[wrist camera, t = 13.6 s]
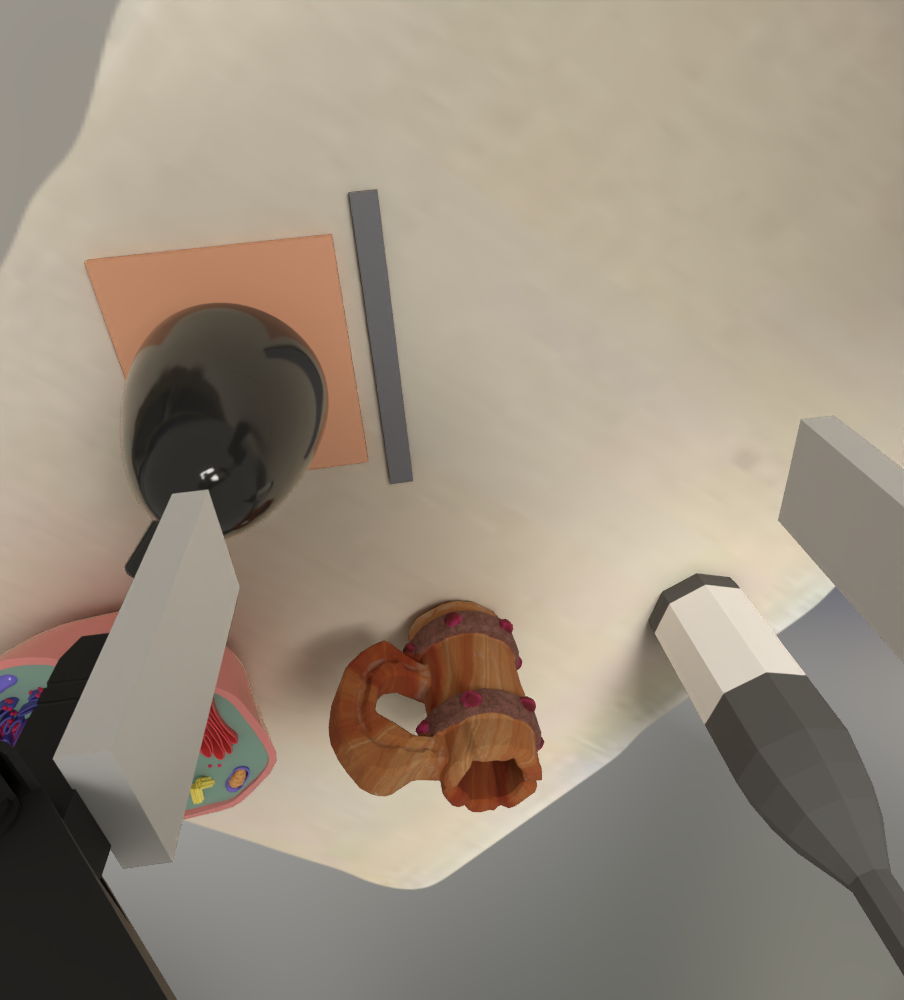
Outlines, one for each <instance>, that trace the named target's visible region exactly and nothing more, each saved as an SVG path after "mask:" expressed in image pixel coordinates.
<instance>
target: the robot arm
mask: <svg viewBox="0 0 904 1000" xmlns="http://www.w3.org/2000/svg"><path fill="white" fill-rule="evenodd" d="M778 521H779V522H780V523H781V524H782V525H783V526H784V528H785V529H786V530H787V531H788V532H789V533H790V534H791V536H792V537H793V538H794V539H795V540H796V541H797V542H798V544H799V545H800V546H801V547H802V548H803V549H804V550H805V552H806V553H807V554H808V555H809V556H810V557H811V558H812V560H813V561H814V562H815V563H816V564H817V565H818V566H819V568H820V569H821V570H822V571H823V572H824V573H825V574H826V576H827V577H828V578H829V579H830V580H831V581H832V582H833V584H834V585H835V586H836V587H837V588H838V589H839V590H840V591H841V593H842V594H843V595H844V596H845V597H846V598H847V600H848V601H849V602H850V603H851V604H852V605H853V606H854V608H855V609H856V610H857V611H858V612H859V613H860V614H861V616H862V617H863V618H864V619H865V620H866V621H867V622H868V623H869V624H870V626H871V627H872V628H873V629H874V630H875V631H876V633H878V635H879V636H880V637H881V638H882V640H883V641H884V642H885V643H886V644H887V645H888V646H889V648H890V649H891V650H892V651H893V652H894V653H895V654H896V655H897V657H898V658H899V659H900V660H901V661H902V662H903V664H904V469H902V468H901V467H900V466H898V465H897V464H896V463H895V462H893V461H892V460H891V459H889V458H888V457H887V456H886V455H884V454H883V453H882V452H880V451H879V450H878V449H877V448H875V447H874V446H873V445H871V444H870V443H869V442H868V441H866V440H865V439H864V438H862V437H861V436H860V435H859V434H857V433H856V432H855V431H853V430H852V429H851V428H850V427H848V426H847V425H846V424H844V423H843V422H842V421H841V420H839V419H838V418H837V417H835V416H825V417H817V418H809V419H801V421H800V425H799V430H798V434H797V439H796V443H795V448H794V452H793V457H792V461H791V465H790V470H789V474H788V479H787V483H786V488H785V492H784V497H783V501H782V506H781V510H780V514H779V519H778ZM239 589H240V586H239V583H238V580H237V576H236V573H235V570H234V567H233V564H232V561H231V558H230V555H229V552H228V549H227V546H226V543H225V540H224V537H223V534H222V530H221V527H220V524H219V521H218V518H217V515H216V512H215V509H214V506H213V503H212V500H211V497H210V494H209V491H208V490H200V491H192V492H183V493H175V494H172V496H171V498H170V500H169V502H168V504H167V507H166V509H165V511H164V513H163V516H162V518H161V520H160V522H159V524H158V527H157V529H156V531H155V533H154V535H153V538H152V540H151V542H150V544H149V547H148V549H147V551H146V553H145V555H144V558H143V560H142V562H141V564H140V566H139V569H138V571H137V573H136V575H135V578H134V580H133V582H132V584H131V586H130V589H129V591H128V593H127V595H126V597H125V600H124V602H123V604H122V606H121V609H120V611H119V613H118V615H117V617H116V620H115V622H114V624H113V626H112V628H111V631H110V633H103V634H95V635H87V636H81V637H80V638H79V639H78V640H77V641H76V642H75V643H74V644H73V645H72V646H71V647H70V648H69V649H68V650H67V651H66V652H65V653H64V654H63V655H62V657H61V658H60V659H59V660H58V662H57V664H56V666H55V668H54V670H53V672H52V674H51V676H50V678H49V680H48V681H47V688H44V689H43V691H42V693H41V695H40V697H39V699H38V701H37V707H36V708H34V709H33V711H32V713H31V714H30V716H29V718H28V720H27V722H26V724H25V726H24V728H23V730H22V732H21V734H20V736H19V738H18V740H17V742H16V744H15V746H14V747H12V746H11V745H10V744H9V743H7V742H6V741H0V1000H177V999H176V997H175V995H174V994H173V992H172V991H171V989H170V987H169V986H168V984H167V982H166V981H165V979H164V977H163V976H162V974H161V972H160V971H159V969H158V967H157V966H156V964H155V962H154V961H153V959H152V957H151V956H150V954H149V952H148V951H147V949H146V947H145V946H144V944H143V942H142V941H141V939H140V937H139V936H138V934H137V932H136V931H135V929H134V927H133V926H132V924H131V923H130V921H129V919H128V918H127V916H126V914H125V913H124V911H123V909H122V908H121V906H120V904H119V903H118V901H117V899H116V898H115V896H114V894H113V893H112V891H111V889H110V888H109V886H108V884H107V883H106V881H105V880H104V878H103V877H102V873H103V870H104V867H105V864H106V861H107V858H108V855H109V852H110V849H111V851H112V852H113V854H114V855H115V857H116V858H117V860H118V862H119V863H120V865H121V866H122V868H123V869H126V868H133V867H139V866H147V865H155V864H162V863H169V862H173V858H174V854H175V850H176V846H177V842H178V838H179V834H180V829H181V825H182V821H183V817H184V813H185V809H186V805H187V801H188V797H189V793H190V789H191V785H192V781H193V777H194V773H195V768H196V764H197V760H198V756H199V752H200V748H201V744H202V740H203V736H204V732H205V728H206V724H207V720H208V715H209V711H210V707H211V703H212V699H213V695H214V691H215V687H216V683H217V679H218V675H219V671H220V667H221V663H222V658H223V654H224V650H225V646H226V642H227V638H228V634H229V630H230V626H231V622H232V618H233V614H234V610H235V605H236V601H237V597H238V593H239Z"/></svg>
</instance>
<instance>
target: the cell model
mask: <svg viewBox="0 0 904 1000" xmlns="http://www.w3.org/2000/svg"><path fill="white" fill-rule="evenodd" d="M118 613H119V611H117V612H112V613H108V614H103V615H99V616H94V617H90V618H86V619H81V620H77V621H72V622H68V623H65V624H62V625H59V626H56V627H54V628H51V629H49V630H46V631H44V632H41V633H39V634H37V635H35V636H33V637H31V638H29V639H27V640H25V641H23V642H22V643H20V644H18V645H16V646H15V647H13V648H11V649H9V650H8V651H6V652H4V653H2V654H1V655H0V741H6V742H7V743H9V744H10V745H11V746H12V747H14V746H15V744H16V742H17V740H18V738H19V736H20V734H21V732H22V730H23V728H24V726H25V724H26V722H27V720H28V718H29V716H30V714H31V713H32V711H33V709H34V708H36V707H37V701H38V699H39V697H40V695H41V693H42V691H43V689H44V688H47V681H48V680H49V678H50V676H51V674H52V672H53V670H54V668H55V666H56V664H57V662H58V660H59V659H60V658H61V657H62V655H63V654H64V653H65V652H66V651H67V650H68V649H69V648H70V647H71V646H72V645H73V644H74V643H75V642H76V641H77V640H78V639H79V638H80V637H81V636H87V635H95V634H103V633H110V631H111V628H112V626H113V624H114V622H115V620H116V617H117V615H118ZM275 763H276V751H275V748H274V746H273V744H272V741H271V738H270V736H269V733H268V731H267V728H266V725H265V723H264V720H263V718H262V715H261V713H260V710H259V708H258V706H257V704H256V702H255V700H254V698H253V695H252V691H251V687H250V682H249V677H248V674H247V672H246V669H245V667H244V665H243V663H242V662H241V660H240V659H239V658H238V657H236V656H235V654H234V653H233V652H232V650H231V649H230V648H228V647H227V646H225V650H224V654H223V658H222V663H221V667H220V671H219V675H218V679H217V683H216V687H215V691H214V695H213V699H212V703H211V707H210V711H209V715H208V720H207V724H206V728H205V732H204V736H203V740H202V744H201V748H200V752H199V756H198V760H197V764H196V768H195V773H194V777H193V781H192V785H191V789H190V793H189V797H188V801H187V805H186V809H185V813H184V817H183V819H187V818H191V817H196V816H200V815H204V814H209V813H213V812H217V811H221V810H224V809H227V808H230V807H233V806H235V805H236V804H238V803H240V802H242V801H243V800H244V799H245V798H246V797H247V796H248V795H249V794H250V793H251V792H252V791H253V790H254V789H255V788H256V787H257V786H258V785H259V784H260V783H261V782H262V781H263V780H264V779H265V778H266V777H267V776H268V775H269V774H270V772H271V770H272V768H273V766H274V765H275Z"/></svg>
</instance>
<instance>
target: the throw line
mask: <svg viewBox="0 0 904 1000" xmlns="http://www.w3.org/2000/svg"><path fill="white" fill-rule="evenodd" d="M349 197H350V204H351V211H352V218H353V225H354V232H355V238H356V245H357V252H358V259H359V266H360V273H361V280H362V287H363V294H364V301H365V308H366V315H367V322H368V329H369V336H370V343H371V350H372V357H373V364H374V371H375V378H376V385H377V392H378V399H379V406H380V413H381V420H382V427H383V434H384V441H385V447H386V454H387V461H388V468H389V475H390V482H391V484H395V483H403V482H410V481H413V477H412V469H411V461H410V453H409V444H408V436H407V428H406V420H405V412H404V404H403V395H402V387H401V379H400V371H399V363H398V355H397V347H396V338H395V330H394V322H393V314H392V306H391V298H390V289H389V281H388V273H387V265H386V257H385V249H384V241H383V232H382V224H381V216H380V208H379V200H378V192H377V189H376V190H366V191H356V192H349Z"/></svg>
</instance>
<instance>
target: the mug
mask: <svg viewBox="0 0 904 1000" xmlns="http://www.w3.org/2000/svg"><path fill="white" fill-rule="evenodd" d="M512 630H513V625H512V624H511V623H510V621H508V620H506V619H500V618H498V616H496V615H495V613H494V612H493V611H491V610H489V609H487V608H485V607H483V606H480V605H478V604H476V603H473V602H471V601H468V602H464V601H454V602H448V603H445V604H442V605H439V606H438V607H436V608H434V609H432V610H430V611H428V612H426V613H424V614H423V615H421V616H420V617H418V618H417V619H416V620H415V622H414V623H413V625H412V626H411V628H410V631H409V635H408V639H409V643H408V644H406V646H405V647H404V649H403V653H402V652H401V651H400V650H398V649H397V648H396V647H394V646H393V645H392V644H390V643H388V642H386V641H382V642H379V643H377V644H375V645H372V646H371V647H369V648H367V649H366V650H364V651H363V652H361V653H360V654H359V655H358V656H357V657H356V658H355V659H354V660H353V661H351V662H350V663H349V665H348V666H347V667H346V669H345V671H344V674H343V677H342V679H341V682H340V684H339V687H338V689H337V692H336V695H335V697H334V700H333V703H332V705H331V712H330V721H329V737H330V742H331V746H332V748H333V750H334V752H335V754H336V756H337V758H338V760H339V762H340V763H341V765H342V766H343V768H344V769H345V770H346V772H347V773H348V774H349V776H350V777H351V778H352V779H353V780H354V782H355V783H356V784H357V785H358V786H359V787H360V788H361V789H363V790H364V791H366V792H368V793H370V794H373V795H377V796H388V795H391V794H393V793H394V792H396V791H397V790H399V789H400V788H402V787H403V786H405V785H406V784H408V783H409V782H411V781H415V780H435V781H436V780H439V781H440V782H441V787H442V792H443V795H444V796H445V798H446V799H447V800H448V801H449V802H450V803H451V804H452V805H453V806H456V807H460V806H463V805H465V806H466V807H467V808H468V810H470V811H472V812H483V811H487V810H495V809H496V808H497V807H498V806H500V805H502V806H505V807H507V808H511V807H514V806H516V805H517V804H519V803H520V802H522V801H523V800H524V799H526V798H527V797H529V796H530V795H531V794H533V793H534V792H535V790H536V788H537V783H536V780H542V769H541V765H540V763H539V758H538V753H537V752H538V750H540V749H541V748H542V746H543V744H544V740H543V738H542V737H541V731H540V728H539V725H538V722H537V718H536V715H535V713H534V711H535V708H536V704H535V702H534V700H533V699H531V698H529V697H527V696H526V697H525V693H524V691H523V689H522V686H521V684H520V680H519V677H518V673H517V670H518V669H519V668H520V667H521V665H522V660H521V658H520V657H519V651H518V648H517V646H516V643H515V640H514V638H513V635H512ZM388 693H399V694H401V695H403V696H407V697H410V698H412V699H414V700H417V701H419V702H422V703H424V704H425V708H426V712H427V717H426V719H425V720H423V721H422V722H421V723H420V724H419V725H418V726H417V728H416V732H417V734H418V736H416V735H412V734H411V733H409V732H408V731H406V730H405V729H403V728H402V727H400V726H398V725H397V724H395V723H394V722H392V721H390V720H388V719H387V718H385V717H383V716H381V715H379V714H378V713H377V712H376V711H375V707H376V702H377V700H378V699H379V697H380V696H382V695H383V694H388Z"/></svg>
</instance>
